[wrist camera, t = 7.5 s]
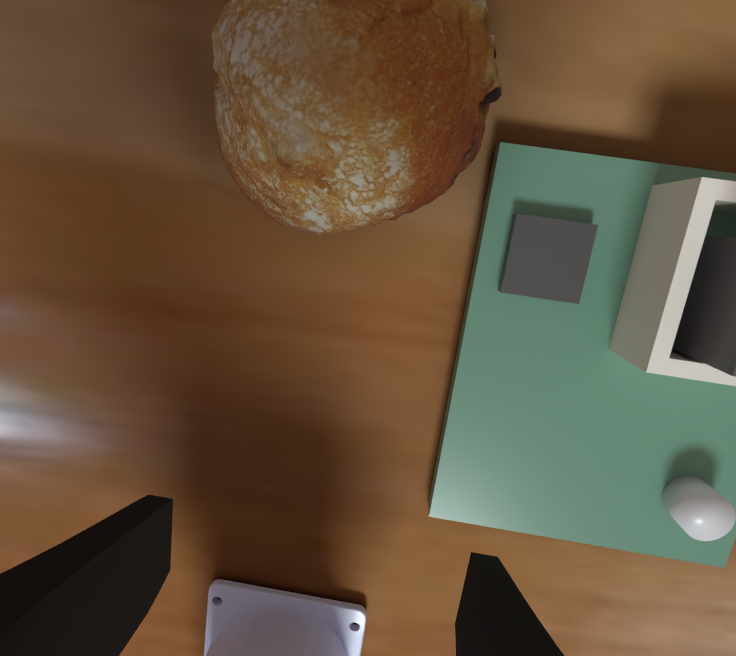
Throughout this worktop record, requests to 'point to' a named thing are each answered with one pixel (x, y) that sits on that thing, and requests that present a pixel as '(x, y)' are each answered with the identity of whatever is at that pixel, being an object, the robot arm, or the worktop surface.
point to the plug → (711, 307)
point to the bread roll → (350, 104)
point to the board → (578, 374)
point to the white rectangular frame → (668, 277)
